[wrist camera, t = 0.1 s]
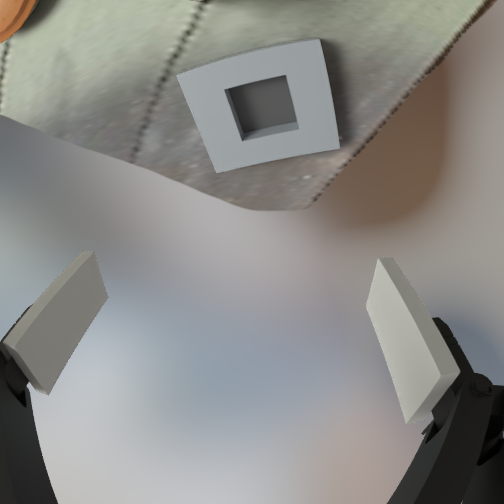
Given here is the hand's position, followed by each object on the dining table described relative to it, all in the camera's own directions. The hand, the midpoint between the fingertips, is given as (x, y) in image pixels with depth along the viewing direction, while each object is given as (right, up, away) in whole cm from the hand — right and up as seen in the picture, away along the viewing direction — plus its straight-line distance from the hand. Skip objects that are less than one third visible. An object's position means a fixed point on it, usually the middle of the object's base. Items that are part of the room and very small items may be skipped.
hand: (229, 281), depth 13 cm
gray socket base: (+2, +20, +19) cm, 28 cm away
